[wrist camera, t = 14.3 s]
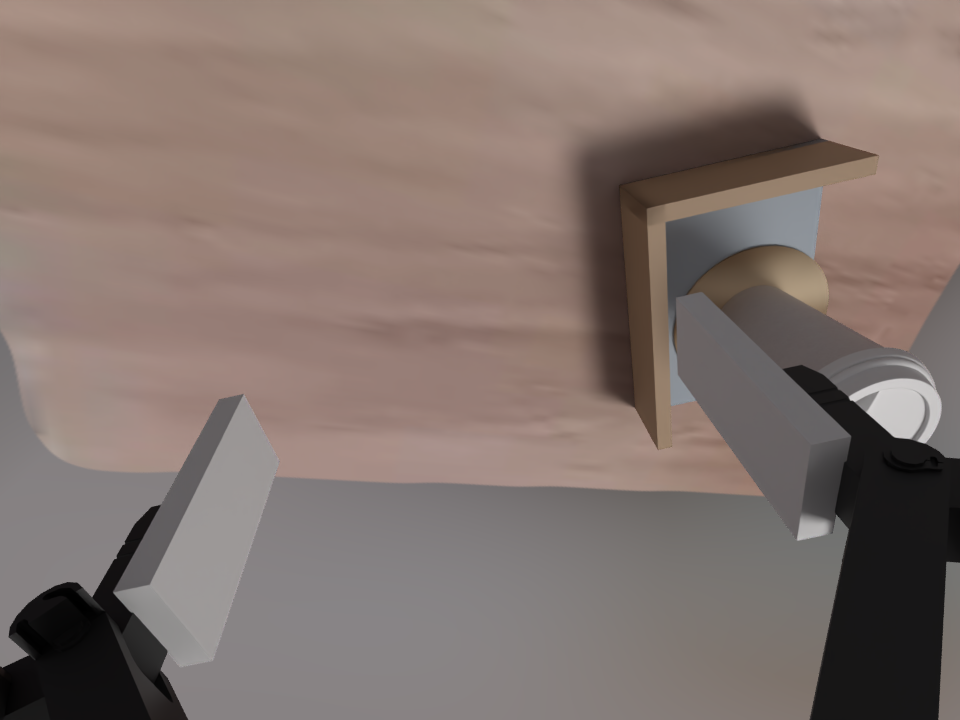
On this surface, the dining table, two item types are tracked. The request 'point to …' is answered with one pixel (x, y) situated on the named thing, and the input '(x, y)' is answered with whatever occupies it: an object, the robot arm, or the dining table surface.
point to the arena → (712, 244)
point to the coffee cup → (841, 359)
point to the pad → (765, 277)
